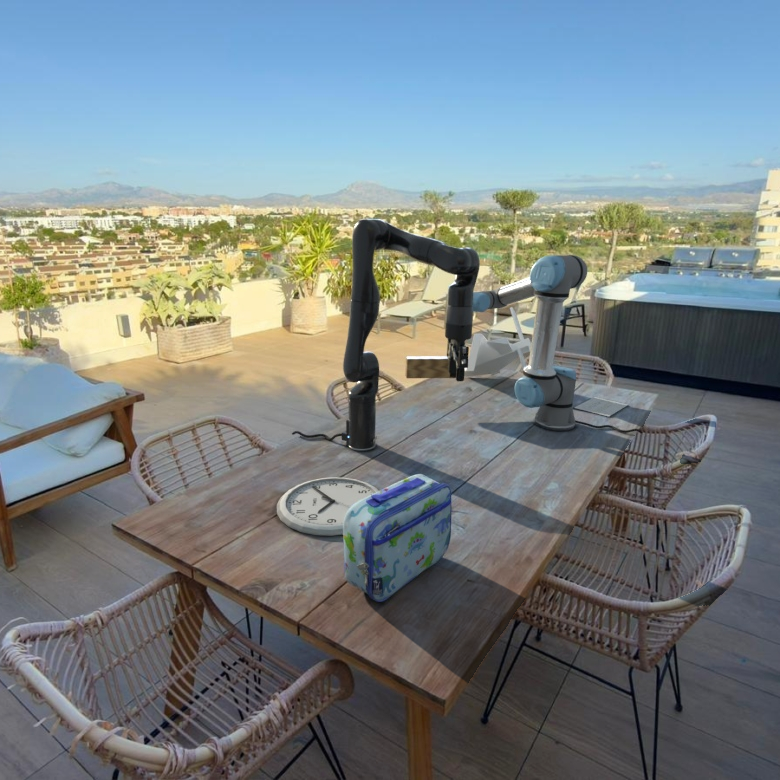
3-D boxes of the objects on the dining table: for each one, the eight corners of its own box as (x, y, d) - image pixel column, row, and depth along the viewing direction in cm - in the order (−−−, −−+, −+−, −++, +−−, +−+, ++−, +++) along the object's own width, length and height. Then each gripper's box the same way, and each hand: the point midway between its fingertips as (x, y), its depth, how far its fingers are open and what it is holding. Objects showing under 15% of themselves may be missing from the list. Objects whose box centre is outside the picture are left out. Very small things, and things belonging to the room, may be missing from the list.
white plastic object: (480, 418, 266) (459, 395, 242) (461, 346, 288) (441, 318, 264) (550, 394, 254) (536, 368, 229) (526, 321, 276) (510, 289, 251)
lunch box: (371, 615, 102) (372, 521, 96) (337, 588, 110) (335, 499, 103) (455, 559, 120) (460, 477, 114) (420, 540, 127) (423, 461, 121)
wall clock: (392, 527, 129) (268, 531, 127) (391, 533, 130) (269, 537, 127) (383, 473, 158) (282, 475, 155) (383, 478, 158) (282, 480, 156)
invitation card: (608, 416, 214) (573, 407, 224) (608, 416, 214) (573, 408, 224) (628, 404, 229) (594, 396, 238) (628, 405, 229) (594, 397, 238)
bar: (458, 375, 230) (459, 356, 227) (461, 378, 226) (462, 358, 223) (405, 375, 228) (405, 356, 225) (406, 378, 223) (407, 358, 221)
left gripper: (440, 317, 153) (437, 370, 158) (452, 326, 140) (449, 384, 144) (465, 317, 154) (461, 370, 159) (479, 325, 141) (475, 383, 146)
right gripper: (442, 318, 228) (439, 369, 235) (450, 325, 211) (447, 380, 218) (459, 318, 229) (456, 369, 236) (468, 325, 212) (465, 380, 219)
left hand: (455, 376), depth 152 cm, fingers open, 8 cm apart
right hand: (452, 374), depth 227 cm, fingers closed on bar, 5 cm apart
